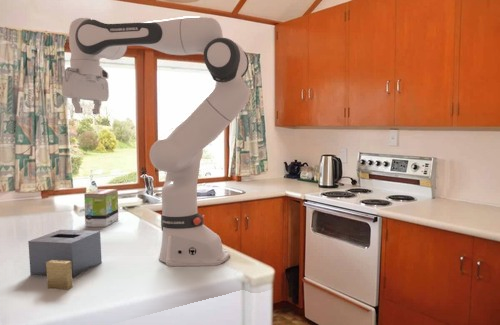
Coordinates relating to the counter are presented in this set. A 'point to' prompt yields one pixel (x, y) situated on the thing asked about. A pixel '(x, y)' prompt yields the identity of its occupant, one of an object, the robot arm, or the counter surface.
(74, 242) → the money box
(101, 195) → the tea box
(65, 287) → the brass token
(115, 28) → the robot arm
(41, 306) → the counter surface
